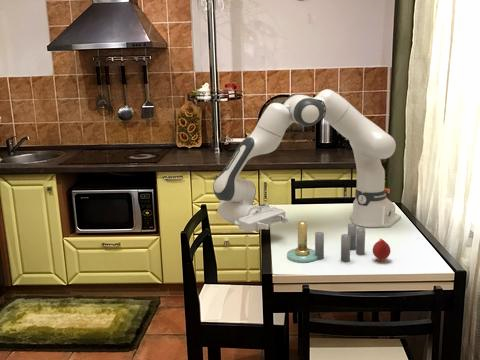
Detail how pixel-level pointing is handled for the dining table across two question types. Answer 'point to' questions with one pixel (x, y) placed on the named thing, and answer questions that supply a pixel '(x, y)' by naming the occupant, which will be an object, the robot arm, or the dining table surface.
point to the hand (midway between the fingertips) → (277, 223)
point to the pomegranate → (381, 250)
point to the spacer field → (343, 243)
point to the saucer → (301, 257)
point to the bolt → (302, 240)
